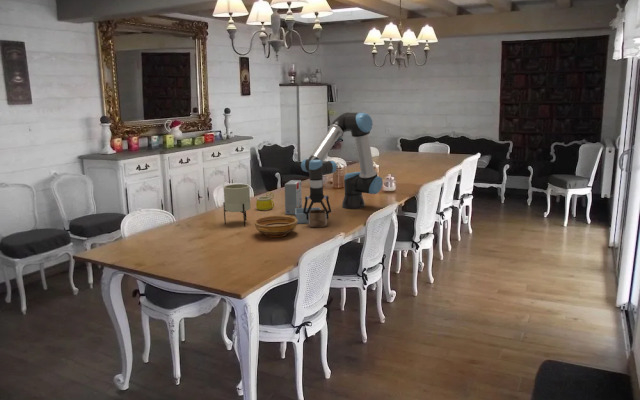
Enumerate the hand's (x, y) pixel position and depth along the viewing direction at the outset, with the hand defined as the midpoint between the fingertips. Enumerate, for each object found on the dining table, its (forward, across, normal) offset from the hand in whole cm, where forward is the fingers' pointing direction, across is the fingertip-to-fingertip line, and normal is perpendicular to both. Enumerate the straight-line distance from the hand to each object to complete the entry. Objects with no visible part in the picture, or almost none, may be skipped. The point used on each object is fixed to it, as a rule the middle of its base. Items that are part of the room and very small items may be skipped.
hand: (317, 224), depth 314 cm
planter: (+1, +47, -12) cm, 49 cm away
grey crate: (+1, +5, -14) cm, 15 cm away
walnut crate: (0, 0, 0) cm, 0 cm away
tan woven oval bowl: (+1, +24, +16) cm, 28 cm away
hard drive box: (+1, +14, -37) cm, 39 cm away
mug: (+1, +33, -48) cm, 58 cm away
